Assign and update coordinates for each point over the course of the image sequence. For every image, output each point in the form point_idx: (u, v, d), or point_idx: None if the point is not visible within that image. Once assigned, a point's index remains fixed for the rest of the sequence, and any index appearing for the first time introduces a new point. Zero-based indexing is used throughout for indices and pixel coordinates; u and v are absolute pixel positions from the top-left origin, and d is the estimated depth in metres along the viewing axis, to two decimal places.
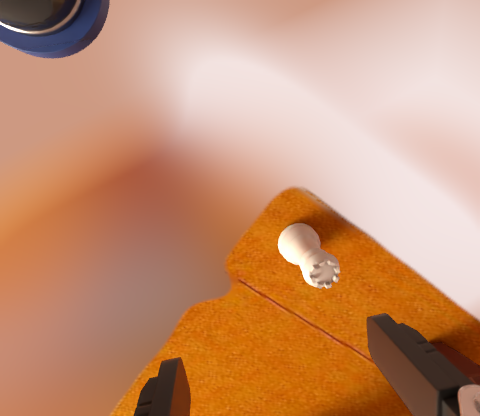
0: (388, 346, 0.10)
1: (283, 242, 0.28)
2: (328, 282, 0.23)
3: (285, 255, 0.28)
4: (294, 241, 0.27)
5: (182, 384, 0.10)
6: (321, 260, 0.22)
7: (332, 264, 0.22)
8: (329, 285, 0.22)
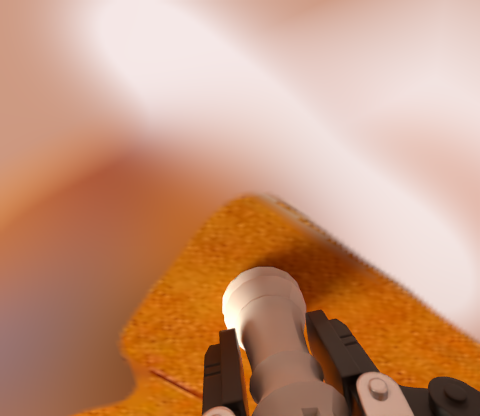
0: (317, 339, 0.11)
1: (228, 310, 0.13)
2: None
3: None
4: (247, 314, 0.12)
5: (239, 351, 0.12)
6: None
7: None
8: None
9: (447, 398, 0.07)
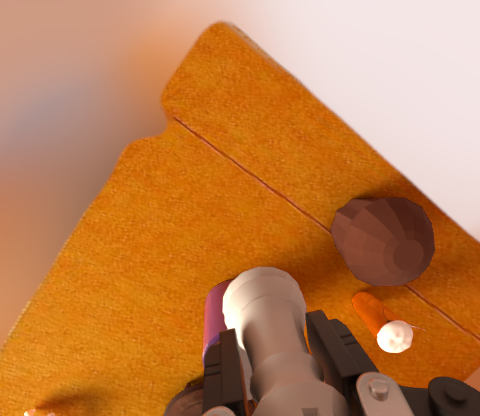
0: (317, 339, 0.11)
1: (228, 310, 0.13)
2: None
3: None
4: (247, 314, 0.12)
5: (239, 351, 0.12)
6: None
7: None
8: None
9: (447, 398, 0.07)
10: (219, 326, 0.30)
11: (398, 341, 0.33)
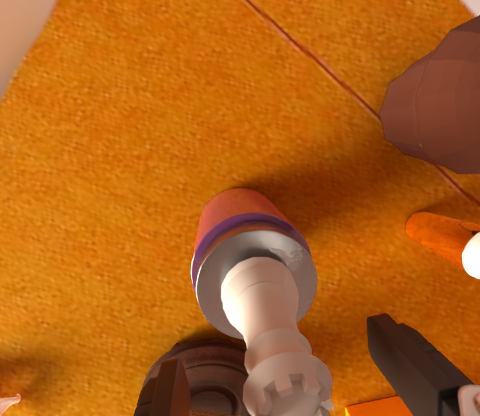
0: (388, 346, 0.10)
1: (226, 296, 0.14)
2: None
3: (230, 321, 0.15)
4: (243, 299, 0.13)
5: (182, 384, 0.10)
6: (286, 380, 0.09)
7: (313, 391, 0.08)
8: None
9: None
10: (218, 219, 0.18)
11: None
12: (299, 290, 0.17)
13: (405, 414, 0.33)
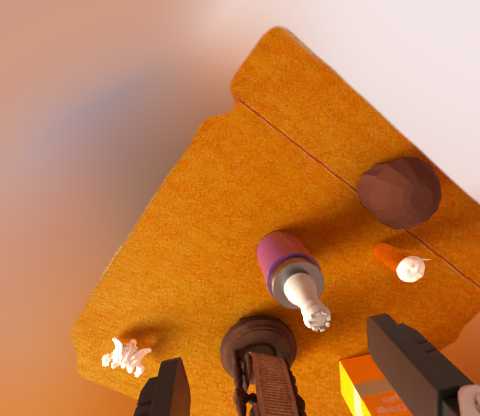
0: (388, 346, 0.10)
1: (288, 289, 0.36)
2: (322, 326, 0.31)
3: (289, 299, 0.36)
4: (296, 290, 0.35)
5: (182, 384, 0.10)
6: (317, 311, 0.30)
7: (325, 314, 0.30)
8: (323, 329, 0.31)
9: None
10: (278, 254, 0.40)
11: (413, 271, 0.43)
12: None
13: None
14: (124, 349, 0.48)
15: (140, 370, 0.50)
